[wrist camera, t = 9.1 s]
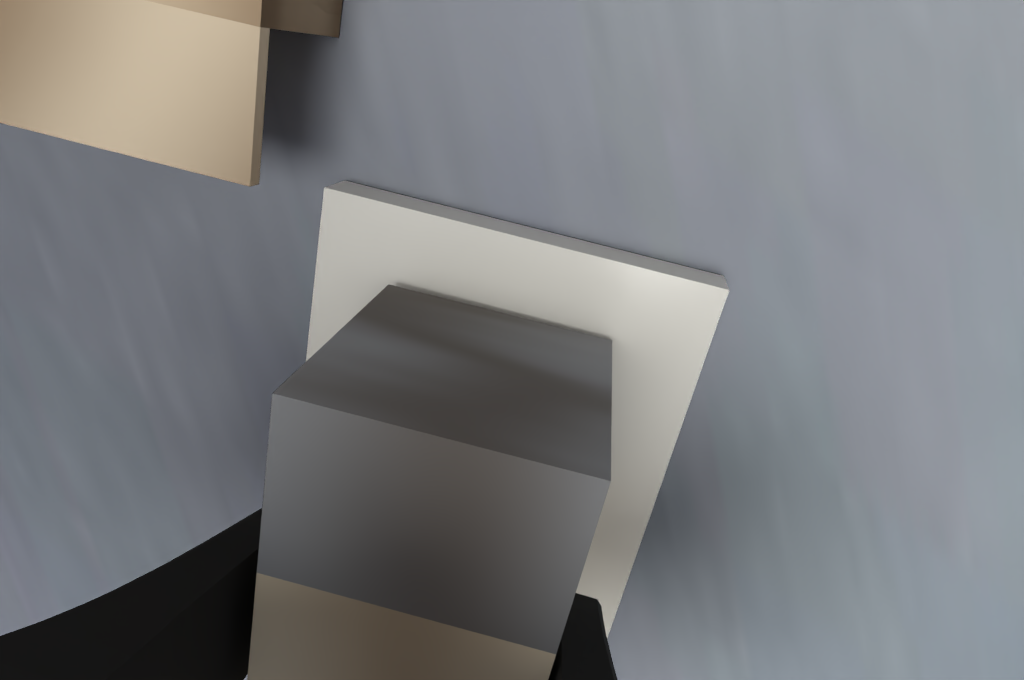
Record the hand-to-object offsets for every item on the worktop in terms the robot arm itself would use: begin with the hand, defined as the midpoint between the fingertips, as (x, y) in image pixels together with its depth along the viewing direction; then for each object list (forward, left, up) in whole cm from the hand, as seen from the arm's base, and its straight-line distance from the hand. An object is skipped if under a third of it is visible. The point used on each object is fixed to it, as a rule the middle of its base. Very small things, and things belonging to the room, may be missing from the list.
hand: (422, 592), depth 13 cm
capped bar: (0, 0, -3) cm, 3 cm away
